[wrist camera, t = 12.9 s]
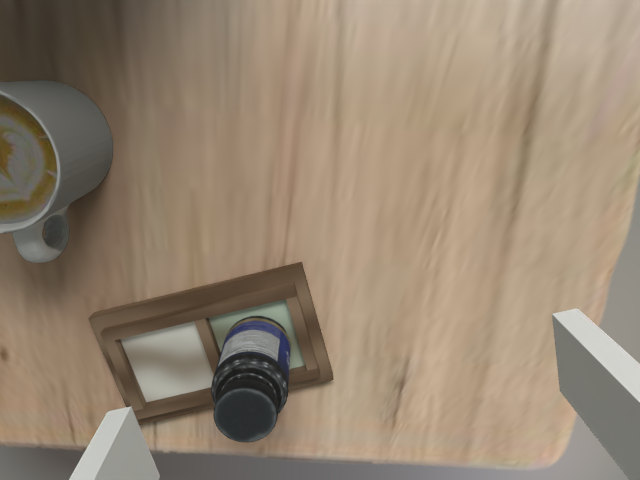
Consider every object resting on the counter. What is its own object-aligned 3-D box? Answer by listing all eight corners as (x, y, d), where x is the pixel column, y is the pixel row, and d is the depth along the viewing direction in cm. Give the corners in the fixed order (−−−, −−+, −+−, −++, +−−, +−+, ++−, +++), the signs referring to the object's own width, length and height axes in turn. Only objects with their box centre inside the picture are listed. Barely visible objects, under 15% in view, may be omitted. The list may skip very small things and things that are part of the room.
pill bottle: (280, 378, 50) (274, 459, 40) (218, 363, 50) (194, 441, 39) (298, 322, 49) (296, 391, 38) (234, 305, 48) (214, 371, 37)
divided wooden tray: (93, 312, 49) (84, 323, 47) (301, 261, 48) (301, 270, 46) (138, 418, 53) (131, 432, 51) (332, 373, 52) (333, 385, 50)
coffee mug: (-14, 74, 43) (-106, 76, 33) (111, 86, 43) (56, 91, 34) (1, 232, 47) (-77, 274, 37) (115, 241, 47) (67, 285, 38)
